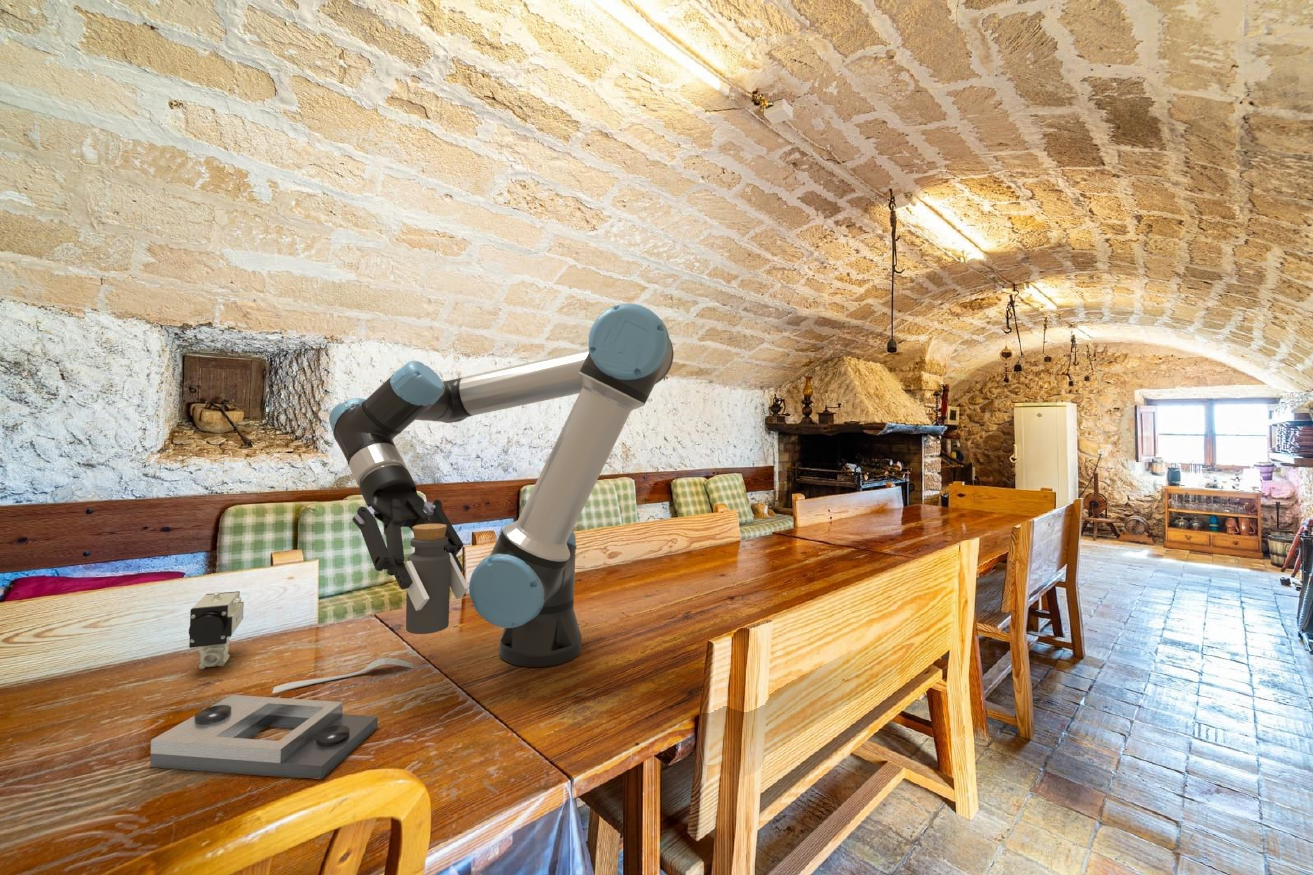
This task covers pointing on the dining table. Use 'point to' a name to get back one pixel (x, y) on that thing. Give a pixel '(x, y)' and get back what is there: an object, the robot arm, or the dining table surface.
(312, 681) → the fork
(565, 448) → the robot arm
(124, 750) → the dining table surface
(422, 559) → the bottle
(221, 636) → the pneumatic valve
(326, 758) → the grey slotted fixture base
